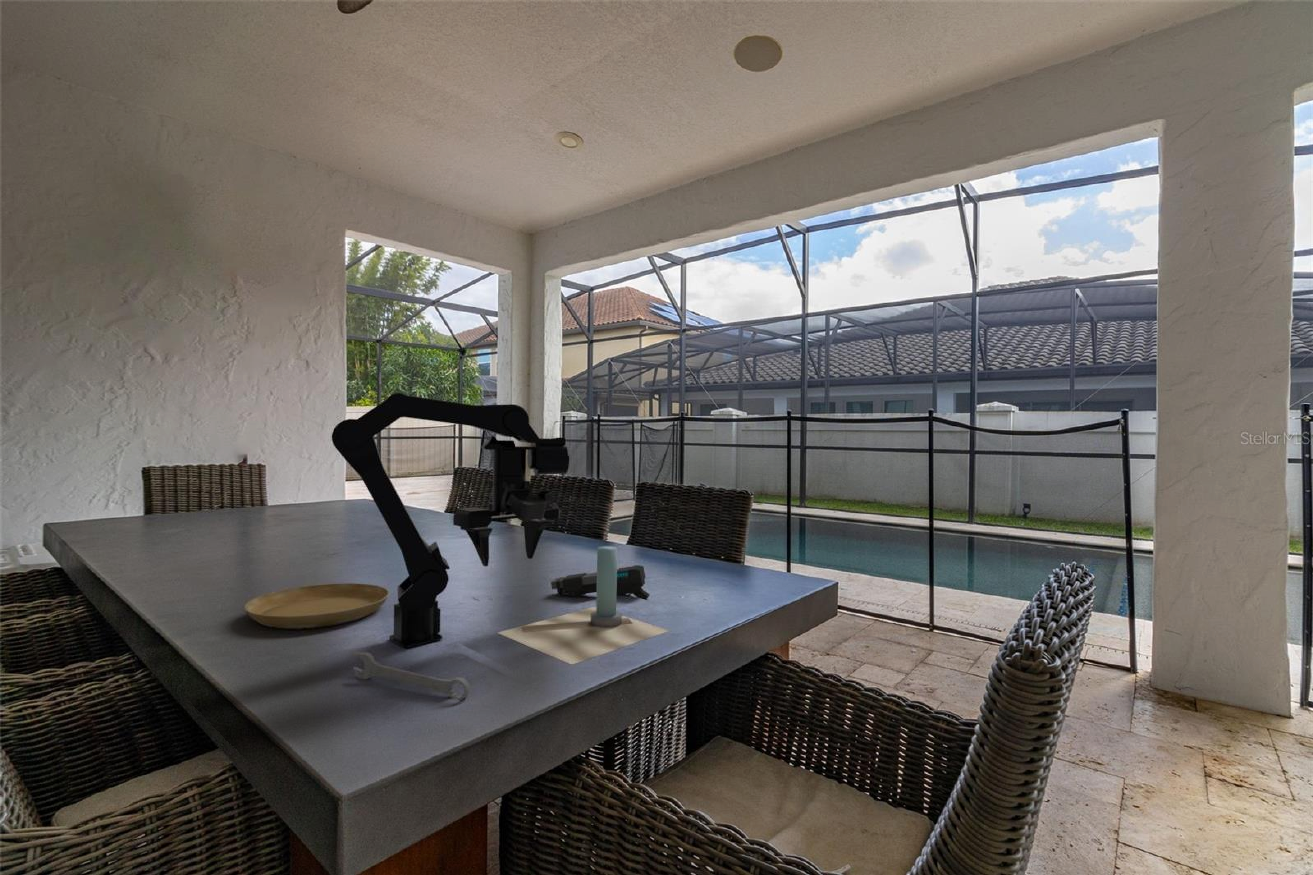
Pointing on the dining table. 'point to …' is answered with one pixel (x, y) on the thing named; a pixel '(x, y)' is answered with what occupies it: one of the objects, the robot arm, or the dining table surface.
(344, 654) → the dining table surface
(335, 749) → the dining table surface
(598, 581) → the marker post
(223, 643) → the dining table surface
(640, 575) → the gun
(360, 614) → the plant saucer
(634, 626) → the board
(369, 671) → the combination wrench
